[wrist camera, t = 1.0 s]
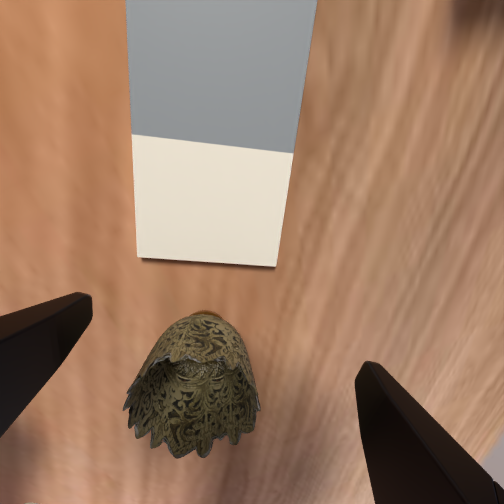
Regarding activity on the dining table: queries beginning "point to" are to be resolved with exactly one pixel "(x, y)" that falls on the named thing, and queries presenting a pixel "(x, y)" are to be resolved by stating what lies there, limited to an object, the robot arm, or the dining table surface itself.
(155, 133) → the game board
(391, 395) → the robot arm
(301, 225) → the dining table surface
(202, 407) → the olive ornate pot
